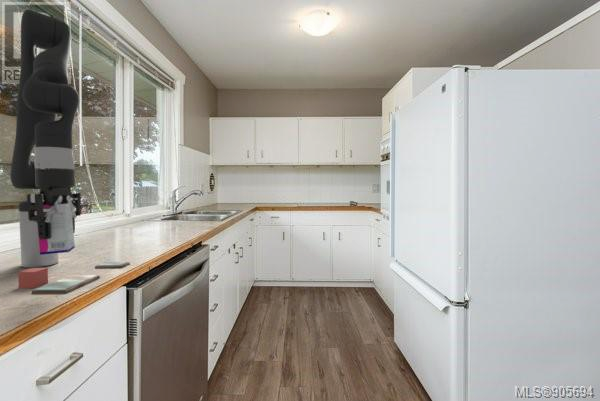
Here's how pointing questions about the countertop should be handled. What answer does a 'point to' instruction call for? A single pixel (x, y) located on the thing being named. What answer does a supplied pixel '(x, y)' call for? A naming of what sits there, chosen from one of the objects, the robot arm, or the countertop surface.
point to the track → (76, 280)
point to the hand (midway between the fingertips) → (57, 236)
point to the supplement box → (59, 231)
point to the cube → (33, 277)
